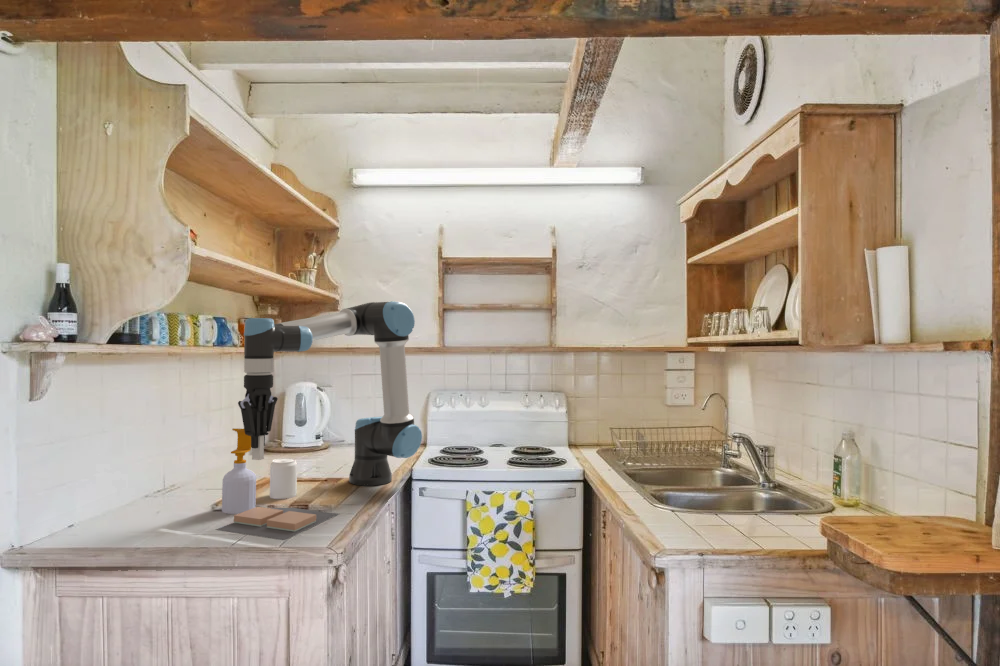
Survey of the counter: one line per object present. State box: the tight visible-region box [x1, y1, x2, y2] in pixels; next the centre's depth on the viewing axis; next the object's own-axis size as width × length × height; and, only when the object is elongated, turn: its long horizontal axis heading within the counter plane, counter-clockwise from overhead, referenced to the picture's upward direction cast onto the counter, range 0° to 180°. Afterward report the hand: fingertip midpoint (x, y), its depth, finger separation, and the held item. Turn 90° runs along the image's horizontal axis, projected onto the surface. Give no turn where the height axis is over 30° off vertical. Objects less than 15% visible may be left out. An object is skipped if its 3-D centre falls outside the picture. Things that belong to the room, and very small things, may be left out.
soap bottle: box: [221, 428, 257, 515], centre depth 173 cm, size 9×9×25 cm
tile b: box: [233, 506, 283, 527], centre depth 162 cm, size 2×9×9 cm
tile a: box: [267, 511, 316, 532], centre depth 159 cm, size 2×9×9 cm
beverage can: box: [269, 457, 298, 500], centre depth 188 cm, size 8×8×12 cm
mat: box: [215, 507, 340, 541], centre depth 162 cm, size 24×22×1 cm
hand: (257, 459), depth 161 cm, fingers closed
